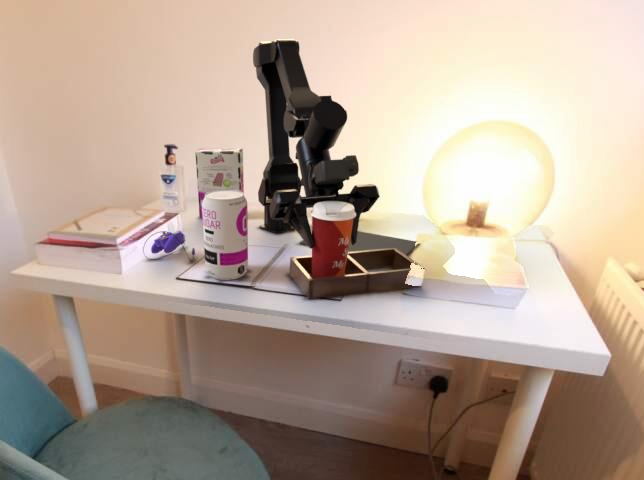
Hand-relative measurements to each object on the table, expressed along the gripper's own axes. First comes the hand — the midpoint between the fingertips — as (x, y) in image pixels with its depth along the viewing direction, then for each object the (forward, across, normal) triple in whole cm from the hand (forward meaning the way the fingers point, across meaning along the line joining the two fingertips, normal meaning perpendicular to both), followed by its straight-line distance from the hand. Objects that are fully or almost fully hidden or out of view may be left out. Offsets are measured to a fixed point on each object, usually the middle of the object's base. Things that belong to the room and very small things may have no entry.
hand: (333, 245), depth 85 cm
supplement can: (-2, -17, +13) cm, 22 cm away
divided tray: (+5, +5, +6) cm, 9 cm away
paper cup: (+4, 0, +6) cm, 8 cm away
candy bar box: (-28, -11, +40) cm, 50 cm away
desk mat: (-8, +14, +19) cm, 25 cm away
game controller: (-10, -26, +21) cm, 35 cm away
